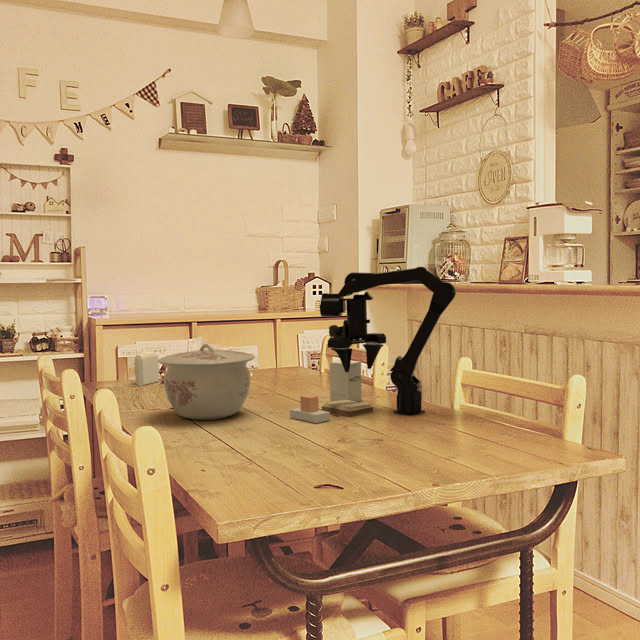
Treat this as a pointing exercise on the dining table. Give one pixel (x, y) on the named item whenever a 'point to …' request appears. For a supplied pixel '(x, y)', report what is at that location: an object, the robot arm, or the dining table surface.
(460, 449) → the dining table surface
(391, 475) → the dining table surface
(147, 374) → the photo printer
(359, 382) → the supplement box
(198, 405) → the chamber pot
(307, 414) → the stub
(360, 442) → the dining table surface
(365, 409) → the pad
